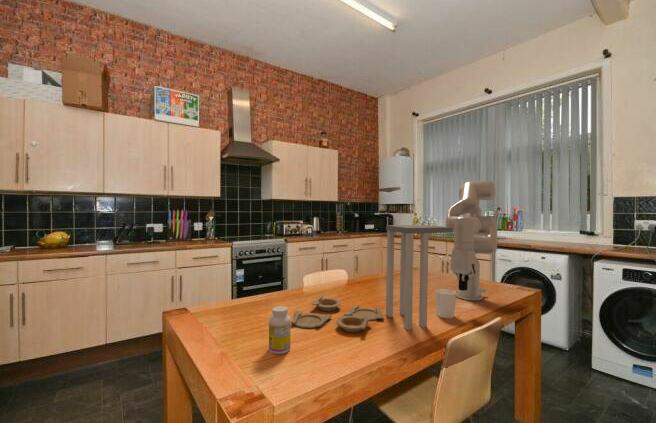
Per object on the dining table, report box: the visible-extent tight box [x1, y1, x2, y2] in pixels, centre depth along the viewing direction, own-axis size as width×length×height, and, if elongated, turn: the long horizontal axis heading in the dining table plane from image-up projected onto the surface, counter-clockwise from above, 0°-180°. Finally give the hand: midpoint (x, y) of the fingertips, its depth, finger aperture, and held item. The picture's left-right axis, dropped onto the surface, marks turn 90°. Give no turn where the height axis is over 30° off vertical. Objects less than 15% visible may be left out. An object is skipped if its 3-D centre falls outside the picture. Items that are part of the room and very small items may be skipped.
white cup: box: [435, 288, 457, 319], centre depth 122 cm, size 8×8×10 cm
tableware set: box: [291, 294, 385, 333], centre depth 118 cm, size 35×29×4 cm
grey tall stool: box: [385, 224, 453, 331], centre depth 117 cm, size 20×15×37 cm
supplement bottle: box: [268, 305, 292, 355], centre depth 91 cm, size 7×7×13 cm
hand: (462, 289), depth 124 cm, fingers closed
